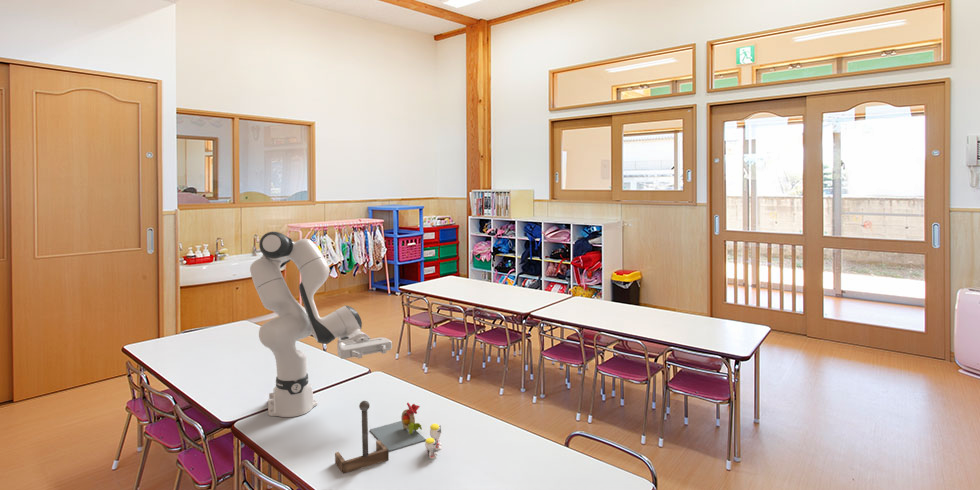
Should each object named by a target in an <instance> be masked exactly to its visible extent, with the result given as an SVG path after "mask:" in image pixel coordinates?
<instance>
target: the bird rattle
mask: <svg viewBox="0 0 980 490" xmlns="http://www.w3.org/2000/svg"><path fill="white" fill-rule="evenodd" d="M406 405H407V408H405V409H404V410H402V411H403V412H402V413H401V420H400V421H402V424H403V429H408V430H409V434H410V435H411V434H412V432H413V430H416V431H418V430H423V428H422V424H420V423H419V422H416V417H415V415H416V414H418V412H417V411H418V410H419V409H420V407H421V405H418V404H417V405H416V404H415V403H412V404H410V403H409V402H406Z"/></svg>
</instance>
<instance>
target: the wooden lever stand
mask: <svg viewBox="0 0 980 490" xmlns="http://www.w3.org/2000/svg"><path fill="white" fill-rule="evenodd" d="M358 405H359V406H358V407H359V408H358V409H359V410H360V411H361V440H362V441H361V443H362V445H361V446H362V455H361V456H357V457H353V458H350V459H346V460H345V458H344V457H343V456H342V454H341V453H340V452H339V451H337V452H334V463H335V464H336V467H337V468H338V469H339V470H340V471H341V474H343V475H345V474H347V473H350V472H353V471H357V470H360V469H363V468H366V467H369V466H372V465H373V466H374V465H375V464H381V463H382V462H386V461H389V451H388V449H387V448H386V447H385V446H384V445H383V444H382V442H381V441H380V440H378V439H377V440H375V451H374V452H371V453H369V426H368V424H369V423H368V419H369V418H368V416H369V415H368V410H369V409H370V403H369V401H367V400H362V401H360V403H359V404H358Z"/></svg>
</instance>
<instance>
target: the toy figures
mask: <svg viewBox="0 0 980 490" xmlns="http://www.w3.org/2000/svg"><path fill="white" fill-rule="evenodd" d="M429 429H430V430H429V435H430V437H428V438H425V439H426V440H425V441H424V442H425V444H424V446H425V449H426V450H427V456H428V458H429V459H432V460H435V459H437V458H438V452H437V451H441V450H442V442H440V441H439V439H440V436H441V434H442V427H441V425H439V424H437V423H432V424H431V425H430V426H429Z"/></svg>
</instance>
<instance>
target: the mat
mask: <svg viewBox="0 0 980 490" xmlns="http://www.w3.org/2000/svg"><path fill="white" fill-rule="evenodd" d="M369 431H370V433H371V434H372V435H373V436H374V437H375V438H376V439H377V441H378V440H380V441H381V442H382V444H383V445H384V446H385V447H386V448H387V449H388V453H389V452H392V451H396V450H399V449H400V450H401V449H403V448H406V447H410V446H413V445H416V444H419V443H423V442H425V440H426V439H427V438H425V437H424V436H423V435H421V433H420V432H419V431H418V430H413V432H412V434H411V435H410V434H409V430H408V429H403V424H402V420H400V421H395V422H392V423H388V424H385V425H381V426H378V427H373V428H371V429H369Z"/></svg>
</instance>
